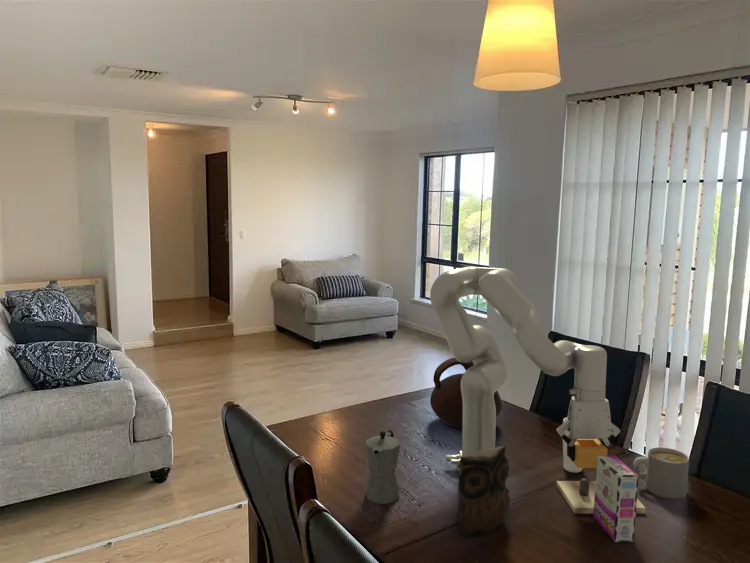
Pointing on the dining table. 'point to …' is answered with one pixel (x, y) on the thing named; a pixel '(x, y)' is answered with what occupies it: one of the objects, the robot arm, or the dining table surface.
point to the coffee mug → (665, 472)
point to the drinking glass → (567, 461)
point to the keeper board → (583, 496)
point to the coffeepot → (382, 468)
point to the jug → (452, 394)
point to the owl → (483, 492)
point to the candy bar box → (615, 498)
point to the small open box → (588, 452)
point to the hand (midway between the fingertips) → (586, 458)
